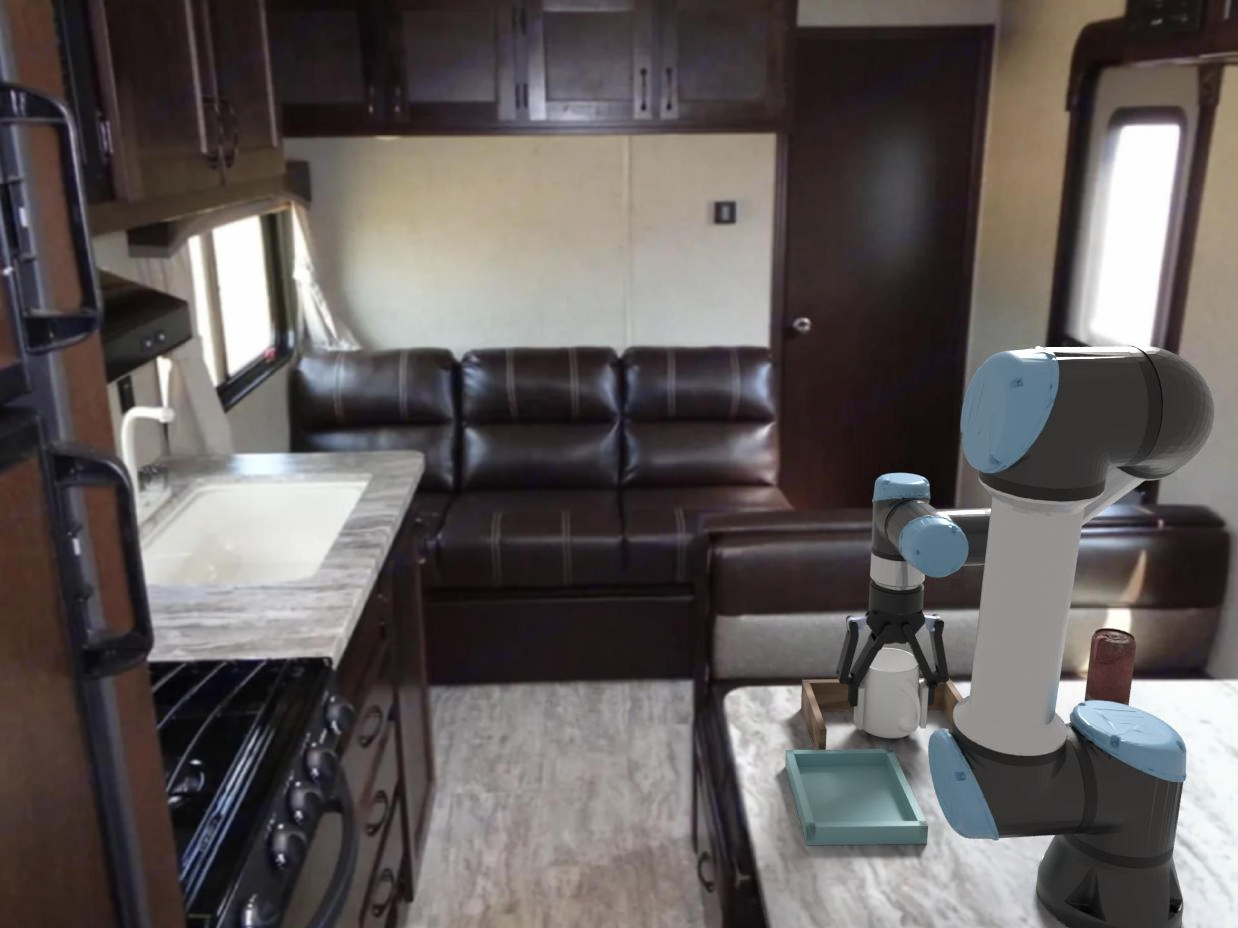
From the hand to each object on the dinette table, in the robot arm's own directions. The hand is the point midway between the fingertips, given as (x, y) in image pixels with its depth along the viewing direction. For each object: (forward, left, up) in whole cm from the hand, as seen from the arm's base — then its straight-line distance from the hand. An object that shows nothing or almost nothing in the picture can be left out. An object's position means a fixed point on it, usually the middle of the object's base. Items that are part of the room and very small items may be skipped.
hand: (889, 724), depth 153 cm
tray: (-17, +9, -2) cm, 19 cm away
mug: (0, -1, -1) cm, 1 cm away
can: (+4, -34, -2) cm, 34 cm away
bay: (+1, 0, -2) cm, 3 cm away
